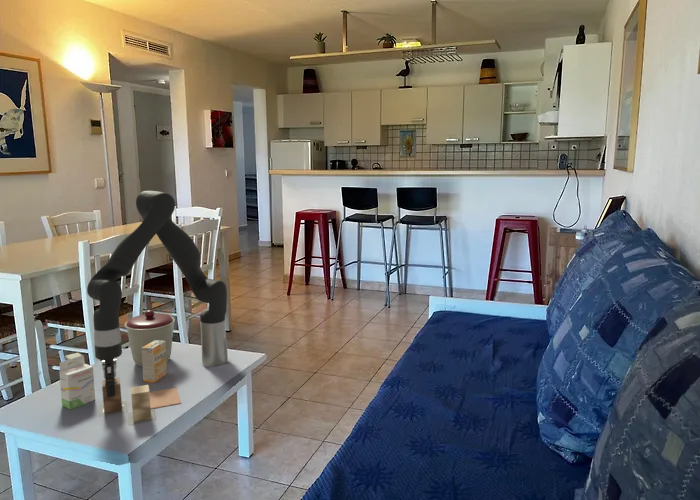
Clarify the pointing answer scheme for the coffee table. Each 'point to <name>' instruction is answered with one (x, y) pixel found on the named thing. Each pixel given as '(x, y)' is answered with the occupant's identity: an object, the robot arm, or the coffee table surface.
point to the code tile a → (101, 412)
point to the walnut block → (112, 402)
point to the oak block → (141, 403)
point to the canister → (149, 332)
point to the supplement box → (154, 361)
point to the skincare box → (73, 357)
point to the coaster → (164, 398)
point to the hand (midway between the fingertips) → (111, 390)
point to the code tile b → (153, 418)
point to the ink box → (76, 383)
